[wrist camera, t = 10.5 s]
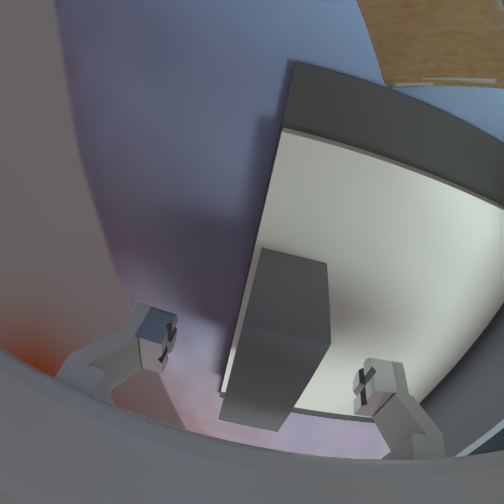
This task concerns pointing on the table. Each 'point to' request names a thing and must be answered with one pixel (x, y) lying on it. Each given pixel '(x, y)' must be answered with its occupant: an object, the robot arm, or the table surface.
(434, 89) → the table surface
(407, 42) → the sandwich container
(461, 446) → the grooved box
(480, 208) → the cover plate
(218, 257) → the table surface
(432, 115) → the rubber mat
